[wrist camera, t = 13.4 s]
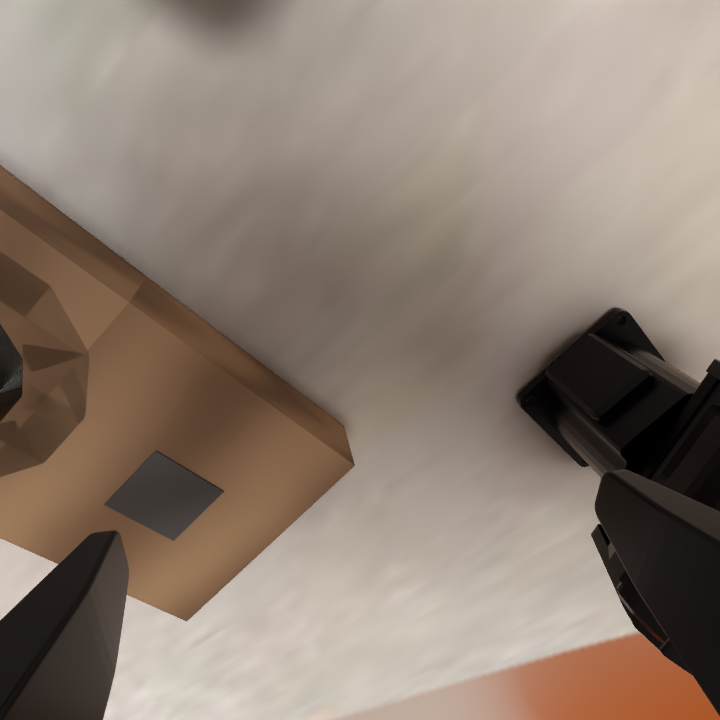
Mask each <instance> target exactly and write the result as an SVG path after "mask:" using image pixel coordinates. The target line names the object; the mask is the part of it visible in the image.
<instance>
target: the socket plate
mask: <svg viewBox="0 0 720 720" xmlns="http://www.w3.org/2000/svg"><path fill="white" fill-rule="evenodd" d="M0 324H1V326H2V327H3V329H4V330H5V332H6V333H7V335H8V336H9V338H10V340H11V341H12V343H13V344H14V346H15V347H16V349H17V350H18V352H19V353H20V355H21V357H22V358H23V378H22V387H21V388H18V389H15V390H11V391H8V392H5V393H2V394H0V538H1V539H3V540H6V541H8V542H10V543H12V544H15V545H17V546H19V547H21V548H24V549H26V550H28V551H30V552H33V553H35V554H37V555H39V556H42V557H44V558H46V559H48V560H50V561H53V562H55V563H57V564H60V563H61V562H62V561H63V560H64V559H65V558H66V557H67V556H68V555H69V554H70V553H71V552H72V551H73V550H74V549H75V548H76V547H77V546H78V545H79V544H80V543H81V542H82V541H83V540H84V539H85V538H86V537H88V536H89V535H90V534H92V533H95V532H101V531H110V530H116V531H118V532H119V533H120V535H121V538H122V542H123V546H124V550H125V553H126V557H127V561H128V566H129V581H128V588H127V595H129V596H131V597H133V598H136V599H138V600H140V601H142V602H145V603H147V604H149V605H151V606H154V607H156V608H158V609H160V610H162V611H165V612H167V613H169V614H171V615H174V616H176V617H178V618H180V619H183V620H185V621H188V620H189V619H190V618H191V617H192V616H193V615H194V614H195V613H196V612H197V611H199V610H200V609H201V608H202V607H203V606H204V605H205V604H206V603H207V602H208V601H209V600H210V599H211V598H213V597H214V596H215V595H216V594H217V593H218V592H219V591H220V590H221V589H222V588H223V587H224V586H225V585H227V584H228V583H229V582H230V581H231V580H232V579H233V578H234V577H235V576H236V575H237V574H238V573H239V572H241V571H242V570H243V569H244V568H245V567H246V566H247V565H248V564H249V563H250V562H251V561H252V560H254V559H255V558H256V557H257V556H258V555H259V554H260V553H261V552H262V551H263V550H264V549H265V548H266V547H268V546H269V545H270V544H271V543H272V542H273V541H274V540H275V539H276V538H277V537H278V536H279V535H280V534H282V533H283V532H284V531H285V530H286V529H287V528H288V527H289V526H290V525H291V524H292V523H293V522H294V521H296V520H297V519H298V518H299V517H300V516H301V515H302V514H303V513H304V512H305V511H306V510H307V509H308V508H310V507H311V506H312V505H313V504H314V503H315V502H316V501H317V500H318V499H319V498H320V497H321V496H322V495H324V494H325V493H326V492H327V491H328V490H329V489H330V488H331V487H332V486H333V485H334V484H335V483H337V482H338V481H339V480H340V479H341V478H342V477H343V476H344V475H345V474H346V473H347V472H348V471H349V470H351V469H352V468H353V467H354V466H355V464H354V461H353V457H352V454H351V450H350V447H349V443H348V440H347V436H346V432H345V429H344V426H342V425H341V424H340V423H338V422H337V421H336V420H334V419H333V418H332V417H330V416H329V415H328V414H327V413H325V412H324V411H323V410H321V409H320V408H319V407H317V406H316V405H315V404H313V403H312V402H311V401H309V400H308V399H307V398H305V397H304V396H303V395H302V394H300V393H299V392H298V391H296V390H295V389H294V388H292V387H291V386H290V385H288V384H287V383H286V382H284V381H283V380H282V379H280V378H279V377H278V376H276V375H275V374H274V373H273V372H271V371H270V370H269V369H267V368H266V367H265V366H263V365H262V364H261V363H259V362H258V361H257V360H255V359H254V358H253V357H251V356H250V355H249V354H247V353H246V352H245V351H244V350H242V349H241V348H240V347H238V346H237V345H236V344H234V343H233V342H232V341H230V340H229V339H228V338H226V337H225V336H224V335H222V334H221V333H220V332H219V331H217V330H216V329H215V328H213V327H212V326H211V325H209V324H208V323H207V322H205V321H204V320H203V319H201V318H200V317H199V316H197V315H196V314H195V313H193V312H192V311H191V310H190V309H188V308H187V307H186V306H184V305H183V304H182V303H180V302H179V301H178V300H176V299H175V298H174V297H172V296H171V295H170V294H168V293H167V292H166V291H164V290H163V289H162V288H161V287H159V286H158V285H157V284H155V283H154V282H153V281H151V280H150V279H149V278H147V277H146V276H145V275H143V274H142V273H141V272H139V271H138V270H137V269H136V268H134V267H133V266H132V265H130V264H129V263H128V262H126V261H125V260H124V259H122V258H121V257H120V256H118V255H117V254H116V253H114V252H113V251H112V250H110V249H109V248H108V247H107V246H105V245H104V244H103V243H101V242H100V241H99V240H97V239H96V238H95V237H93V236H92V235H91V234H89V233H88V232H87V231H85V230H84V229H83V228H82V227H80V226H79V225H78V224H76V223H75V222H74V221H72V220H71V219H70V218H68V217H67V216H66V215H64V214H63V213H62V212H60V211H59V210H58V209H56V208H55V207H54V206H53V205H51V204H50V203H49V202H47V201H46V200H45V199H43V198H42V197H41V196H39V195H38V194H37V193H35V192H34V191H33V190H31V189H30V188H29V187H27V186H26V185H25V184H24V183H22V182H21V181H20V180H18V179H17V178H16V177H14V176H13V175H12V174H10V173H9V172H8V171H6V170H5V169H4V168H2V167H1V166H0Z"/></svg>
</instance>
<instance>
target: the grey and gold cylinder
mask: <svg viewBox="0 0 720 720" xmlns="http://www.w3.org/2000/svg"><path fill="white" fill-rule="evenodd" d="M22 366H23V358H22V357H21V355H20V353H19V352H18V350H17V349H16V347H15V346H14V344H13V343H12V341H11V340H10V338H9V336H8V335H7V333H6V332H5V330H4V329H3V327H2V326H1V324H0V390H1V389H2V388H3V386H4V385H5V384H6V383H7V382H8V381H9V380H10V379H11V378H12V377H13V376H14V375H15V374H16V373H17V372H18V371H19V370H20V368H21V367H22Z"/></svg>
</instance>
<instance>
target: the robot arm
mask: <svg viewBox="0 0 720 720" xmlns="http://www.w3.org/2000/svg"><path fill="white" fill-rule="evenodd" d="M619 317H621V318H620V320H619V321H618V322H617V323H616V320H617V319H618V318H619ZM706 371H707V372H708V374H707V375H706V377H705V378H704V380H703V381H702V382H701V383H699V382H697V381H696V380H694V379H692V378H691V377H689V376H688V375H686V374H684V373H683V372H681V371H679V370H678V369H676V368H674V367H673V366H671V365H669V364H668V363H666V362H665V360H664V359H663V358H662V356H661V355H660V354H659V352H658V351H657V350H656V348H655V347H654V346H653V344H652V343H651V342H650V340H649V339H648V338H647V336H646V335H645V333H644V332H643V331H642V329H641V328H640V327H639V325H638V324H637V323H636V321H635V320H634V319H633V317H632V316H631V315H630V313H628V312H627V311H625V310H623V309H620V308H617V309H614V310H612V311H611V312H609V313H608V314H607V315H606V316H605V317H604V318H603V319H602V320H600V321H599V322H598V323H597V324H596V325H595V326H594V327H593V328H591V329H590V330H589V331H588V332H587V333H586V334H585V335H584V336H582V337H581V338H580V339H579V340H578V341H577V342H576V343H575V344H573V345H572V346H571V347H570V348H569V349H568V350H567V351H566V352H564V353H563V354H562V355H561V356H560V357H559V358H558V359H557V360H555V361H554V362H553V363H552V364H551V365H550V366H549V367H548V368H546V369H545V370H544V371H543V372H542V373H541V374H540V375H539V376H537V377H536V378H535V379H534V380H533V381H532V382H531V383H530V384H528V385H527V386H526V387H525V388H524V389H523V390H522V391H521V392H520V393H519V394H518V396H517V403H518V404H519V405H520V407H521V408H522V409H523V410H524V411H525V412H526V413H527V414H528V415H529V416H530V417H531V418H532V419H533V420H534V421H535V422H536V423H537V424H538V425H539V426H540V427H541V428H543V429H544V430H545V431H546V432H547V433H548V434H549V435H550V436H551V437H552V438H553V439H554V440H555V441H556V442H557V443H558V444H559V445H560V446H561V447H562V448H563V449H564V450H565V451H566V452H567V453H568V454H569V455H570V456H571V457H572V458H573V459H574V460H575V461H576V462H577V463H578V464H579V465H580V466H582V467H587V466H590V467H591V468H592V469H593V470H594V471H595V472H596V473H597V474H598V475H599V476H600V477H601V482H600V486H599V489H598V493H597V497H596V501H595V511H596V515H597V517H598V519H599V521H600V523H601V524H598V525H597V526H596V528H595V529H594V531H593V532H592V533H591V536H592V538H593V540H594V543H595V545H596V547H597V549H598V551H599V554H600V556H601V558H602V560H603V563H604V565H605V567H606V569H607V572H608V574H609V576H610V578H611V580H612V583H613V585H614V587H615V589H616V592H617V594H618V596H619V598H620V601H621V603H622V605H623V607H624V609H625V611H626V612H627V614H628V616H629V617H630V619H631V621H632V623H633V625H634V626H635V628H636V629H637V630H638V631H639V632H641V633H642V634H643V635H645V637H646V638H647V639H648V640H649V641H650V642H651V643H653V644H654V645H655V646H656V647H657V648H658V649H659V650H660V651H661V652H662V653H663V655H664V656H665V657H667V658H668V659H670V660H671V661H673V662H674V663H676V664H677V665H678V666H680V667H681V668H683V669H684V670H686V671H687V672H689V673H690V674H692V675H693V676H694V678H695V679H696V681H697V682H698V684H699V685H700V687H701V688H702V690H703V692H704V693H705V695H706V696H707V698H708V699H709V701H710V702H711V704H712V705H713V707H714V708H715V710H716V711H717V713H718V714H719V715H720V361H719V360H717V359H714V360H713V362H712V363H711V365H710V366H709V367H708V369H707V370H706ZM529 397H531V398H530V400H529V401H527V402H525V401H526V399H527V398H529ZM128 581H129V566H128V561H127V557H126V553H125V550H124V546H123V542H122V538H121V535H120V533H119V532H118V531H116V530H110V531H101V532H95V533H92V534H90V535H89V536H88V537H86V538H85V539H84V540H83V541H82V542H81V543H80V544H79V545H78V546H77V547H76V548H75V549H74V550H73V551H72V552H71V553H70V554H69V555H68V556H67V557H66V558H65V559H64V560H63V561H62V562H61V563H60V564H58V565H57V566H56V567H55V568H54V569H53V570H52V571H51V572H50V573H49V574H48V575H47V576H46V577H45V578H44V579H43V580H42V581H41V582H40V583H39V584H38V585H37V586H36V587H35V588H34V589H33V590H32V591H30V592H29V593H28V594H27V595H26V596H25V597H24V598H23V599H22V600H21V601H20V602H19V603H18V604H17V605H16V606H15V607H14V608H13V609H12V610H11V611H10V612H9V613H8V614H7V615H6V616H5V617H4V618H3V619H1V620H0V720H103V717H104V713H105V710H106V706H107V702H108V698H109V694H110V690H111V686H112V682H113V678H114V674H115V668H116V662H117V656H118V650H119V643H120V636H121V629H122V622H123V616H124V609H125V602H126V595H127V588H128Z"/></svg>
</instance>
